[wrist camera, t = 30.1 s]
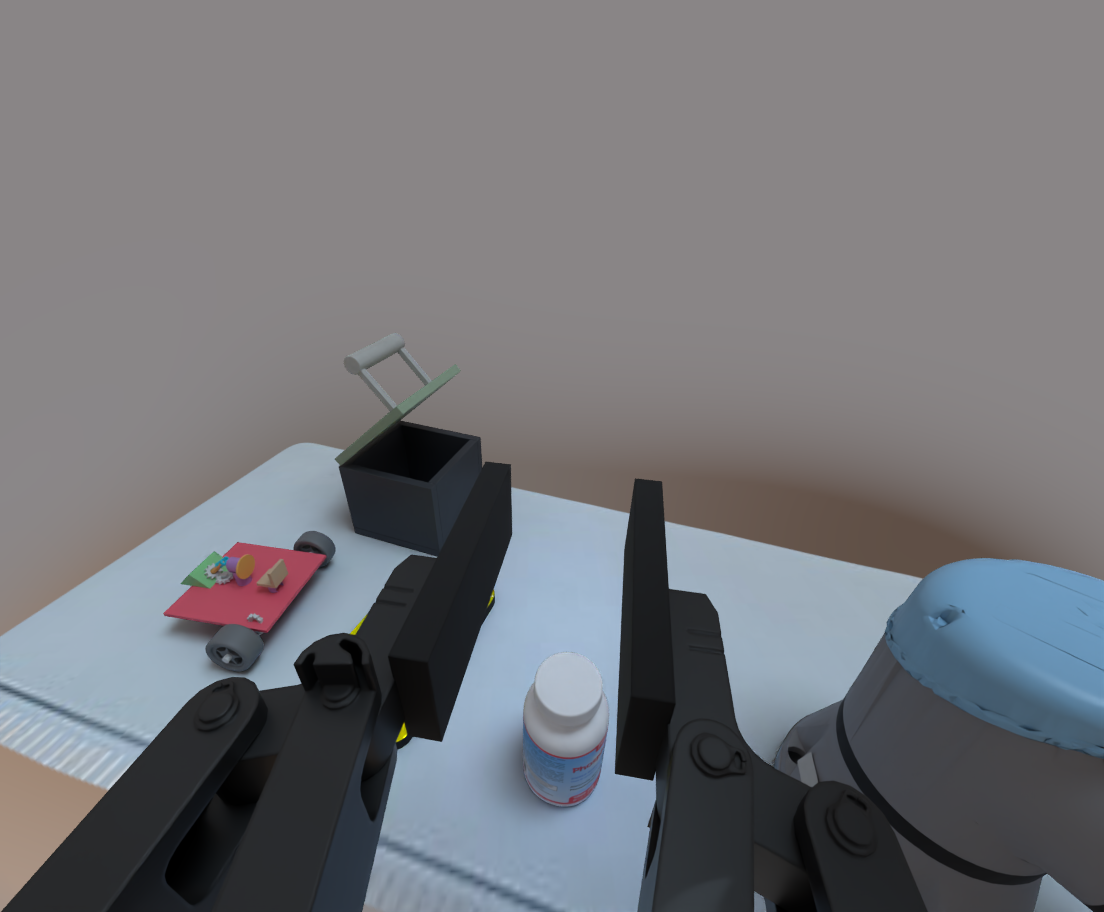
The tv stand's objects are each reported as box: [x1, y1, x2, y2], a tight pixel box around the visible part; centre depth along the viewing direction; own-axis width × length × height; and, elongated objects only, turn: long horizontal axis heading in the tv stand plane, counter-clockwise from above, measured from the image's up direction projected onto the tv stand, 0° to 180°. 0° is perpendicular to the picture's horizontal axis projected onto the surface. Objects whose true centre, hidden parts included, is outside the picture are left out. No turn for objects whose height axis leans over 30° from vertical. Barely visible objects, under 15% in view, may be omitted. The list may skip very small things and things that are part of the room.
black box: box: [339, 421, 482, 556], centre depth 61 cm, size 12×12×10 cm
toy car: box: [163, 531, 335, 671], centre depth 48 cm, size 15×12×7 cm
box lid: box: [335, 333, 461, 465], centre depth 55 cm, size 13×12×8 cm
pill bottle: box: [523, 652, 609, 807], centre depth 35 cm, size 6×6×11 cm
